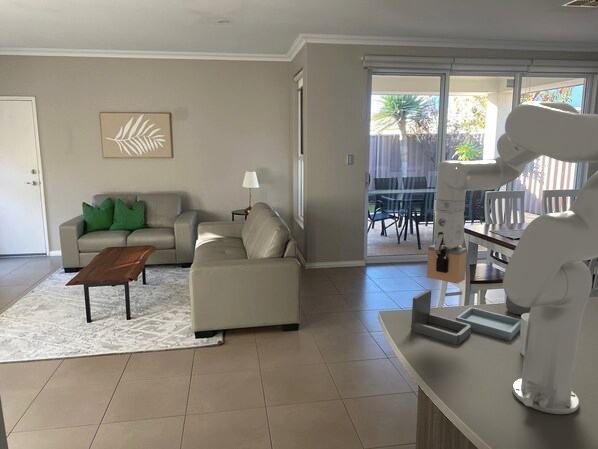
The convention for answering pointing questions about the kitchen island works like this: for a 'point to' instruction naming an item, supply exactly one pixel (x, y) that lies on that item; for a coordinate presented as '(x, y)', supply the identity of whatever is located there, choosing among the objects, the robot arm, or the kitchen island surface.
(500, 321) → the tray
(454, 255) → the block
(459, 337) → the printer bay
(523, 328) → the white cup
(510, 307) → the smart speaker
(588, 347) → the kitchen island surface
